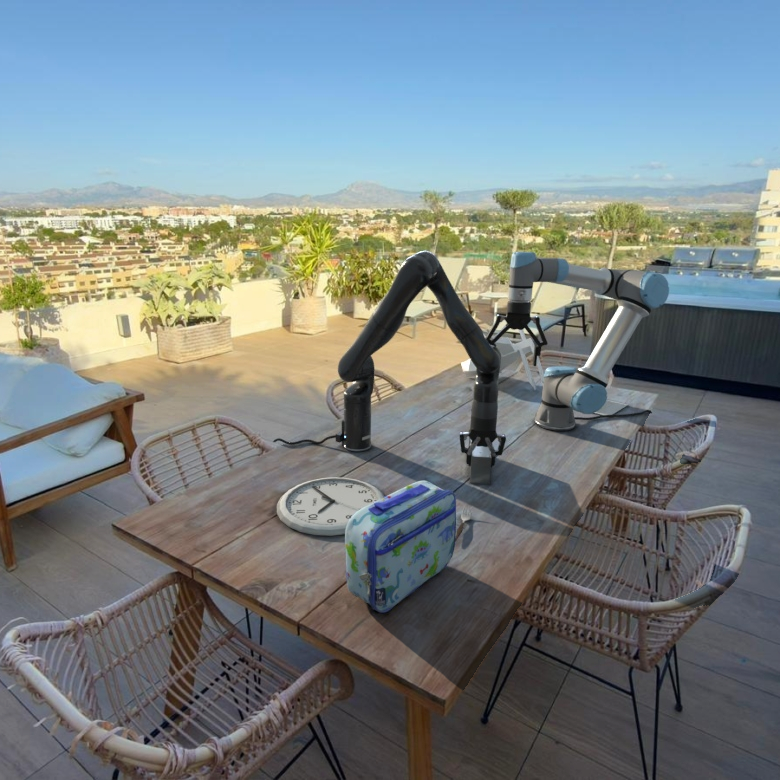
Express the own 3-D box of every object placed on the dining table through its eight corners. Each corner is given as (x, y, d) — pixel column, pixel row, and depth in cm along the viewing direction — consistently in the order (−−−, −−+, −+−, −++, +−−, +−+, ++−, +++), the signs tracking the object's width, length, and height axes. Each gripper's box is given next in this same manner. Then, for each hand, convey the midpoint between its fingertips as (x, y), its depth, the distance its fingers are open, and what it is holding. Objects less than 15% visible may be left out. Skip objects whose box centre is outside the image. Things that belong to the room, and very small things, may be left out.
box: (468, 452, 178) (469, 428, 175) (485, 453, 177) (487, 429, 174) (469, 483, 157) (471, 456, 154) (489, 484, 156) (491, 457, 153)
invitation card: (608, 416, 214) (573, 407, 224) (608, 416, 214) (573, 408, 224) (628, 404, 229) (594, 396, 238) (628, 405, 229) (594, 397, 238)
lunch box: (374, 626, 100) (375, 530, 93) (338, 598, 107) (337, 508, 101) (459, 568, 117) (465, 484, 111) (424, 547, 124) (427, 467, 118)
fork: (449, 542, 127) (449, 535, 126) (463, 510, 141) (464, 504, 140) (459, 544, 126) (460, 537, 125) (473, 512, 140) (473, 506, 139)
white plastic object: (482, 418, 266) (461, 395, 241) (463, 346, 288) (443, 318, 264) (553, 394, 254) (538, 368, 229) (528, 321, 276) (512, 289, 251)
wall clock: (392, 527, 129) (268, 531, 127) (391, 533, 130) (269, 537, 127) (383, 473, 158) (282, 475, 155) (383, 478, 158) (282, 480, 156)
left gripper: (459, 416, 150) (456, 469, 155) (510, 419, 149) (505, 473, 154) (459, 408, 157) (456, 459, 163) (507, 410, 156) (503, 462, 161)
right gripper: (481, 301, 168) (476, 365, 174) (561, 303, 165) (553, 368, 171) (480, 298, 175) (475, 359, 181) (556, 300, 172) (549, 363, 178)
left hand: (480, 465), depth 158 cm, fingers closed on box, 5 cm apart
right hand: (513, 364), depth 176 cm, fingers open, 13 cm apart
